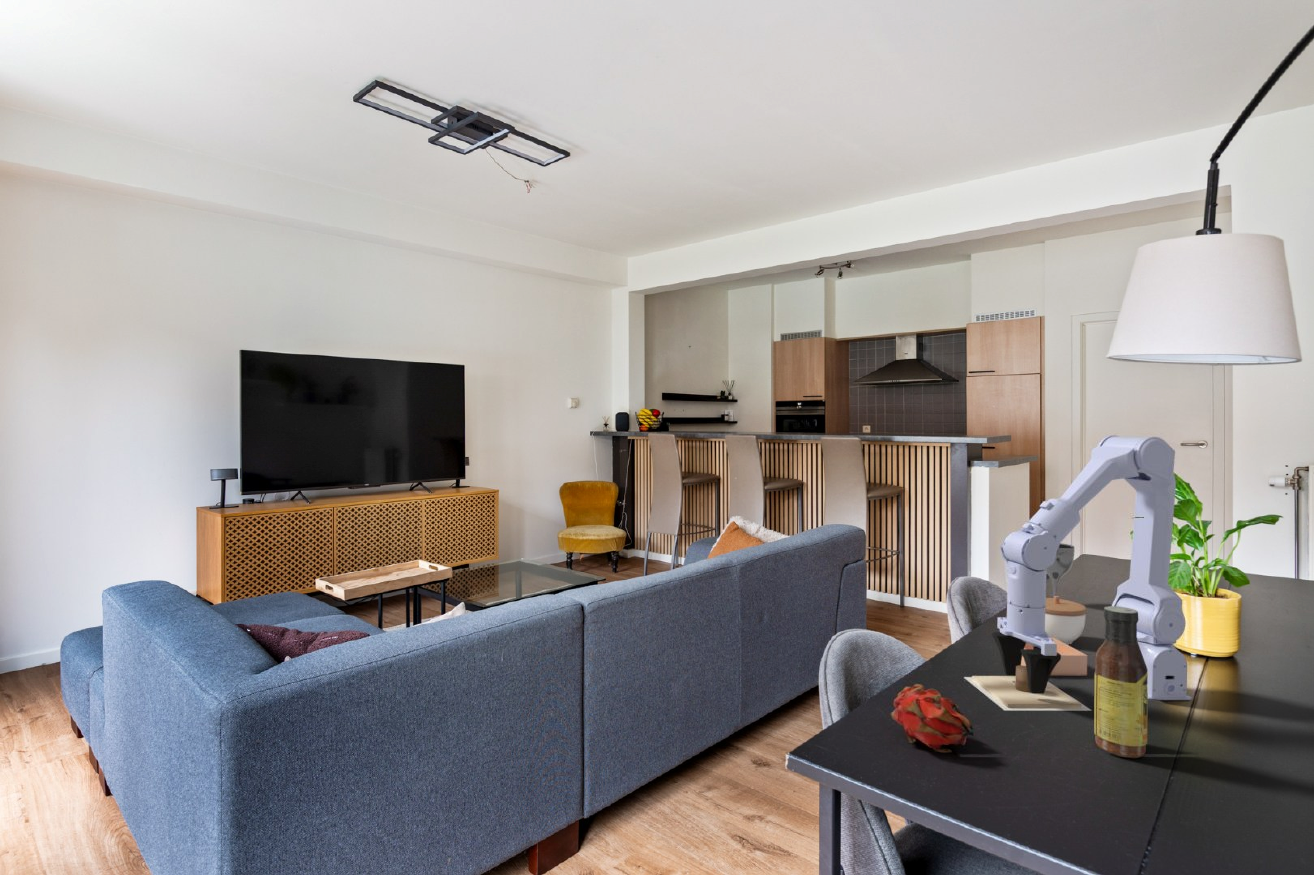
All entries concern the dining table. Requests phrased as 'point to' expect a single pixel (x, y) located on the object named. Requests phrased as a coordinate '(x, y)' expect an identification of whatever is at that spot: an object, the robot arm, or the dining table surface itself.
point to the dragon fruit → (930, 718)
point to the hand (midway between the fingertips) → (1024, 683)
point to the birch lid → (1024, 692)
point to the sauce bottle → (1121, 687)
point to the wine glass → (1061, 564)
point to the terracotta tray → (1066, 660)
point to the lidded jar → (1064, 619)
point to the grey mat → (1022, 708)
